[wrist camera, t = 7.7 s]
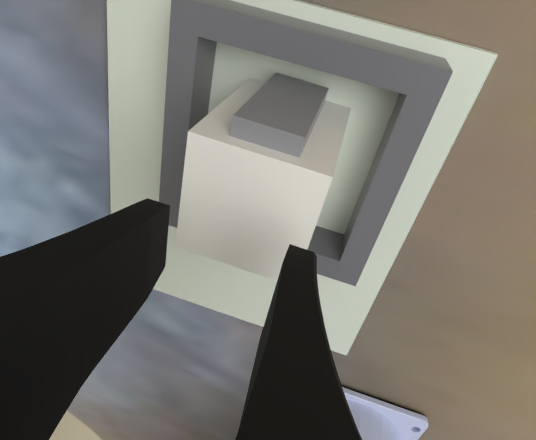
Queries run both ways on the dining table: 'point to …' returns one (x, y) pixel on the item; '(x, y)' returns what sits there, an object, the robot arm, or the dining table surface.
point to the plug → (259, 173)
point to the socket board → (340, 92)
